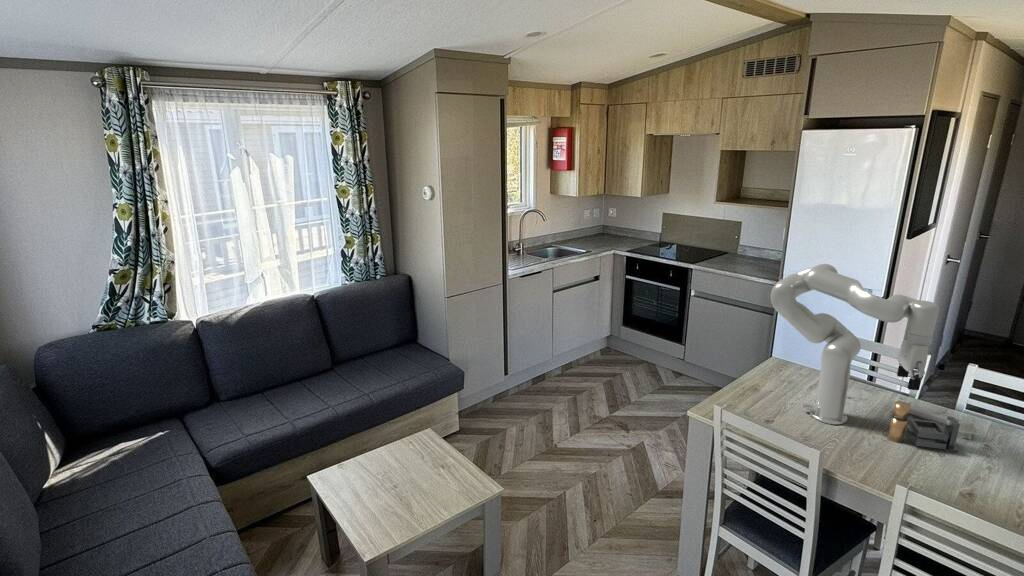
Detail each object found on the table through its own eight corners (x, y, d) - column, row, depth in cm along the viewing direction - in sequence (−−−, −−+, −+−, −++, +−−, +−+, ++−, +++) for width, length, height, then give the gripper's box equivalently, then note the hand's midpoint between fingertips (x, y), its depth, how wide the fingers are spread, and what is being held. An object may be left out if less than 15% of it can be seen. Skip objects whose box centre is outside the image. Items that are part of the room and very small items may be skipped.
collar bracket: (905, 434, 195) (910, 409, 192) (947, 439, 191) (953, 414, 188) (914, 447, 187) (920, 422, 184) (958, 453, 183) (965, 427, 180)
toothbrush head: (902, 398, 212) (980, 419, 190) (901, 414, 213) (979, 437, 191) (894, 402, 210) (972, 423, 188) (894, 418, 211) (971, 441, 189)
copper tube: (890, 441, 191) (897, 406, 187) (885, 434, 195) (893, 400, 191) (904, 443, 190) (912, 408, 186) (900, 436, 194) (907, 402, 190)
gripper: (895, 326, 190) (886, 370, 195) (915, 346, 174) (904, 393, 179) (920, 328, 188) (910, 373, 193) (942, 348, 172) (930, 396, 177)
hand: (907, 382), depth 186 cm, fingers open, 9 cm apart
